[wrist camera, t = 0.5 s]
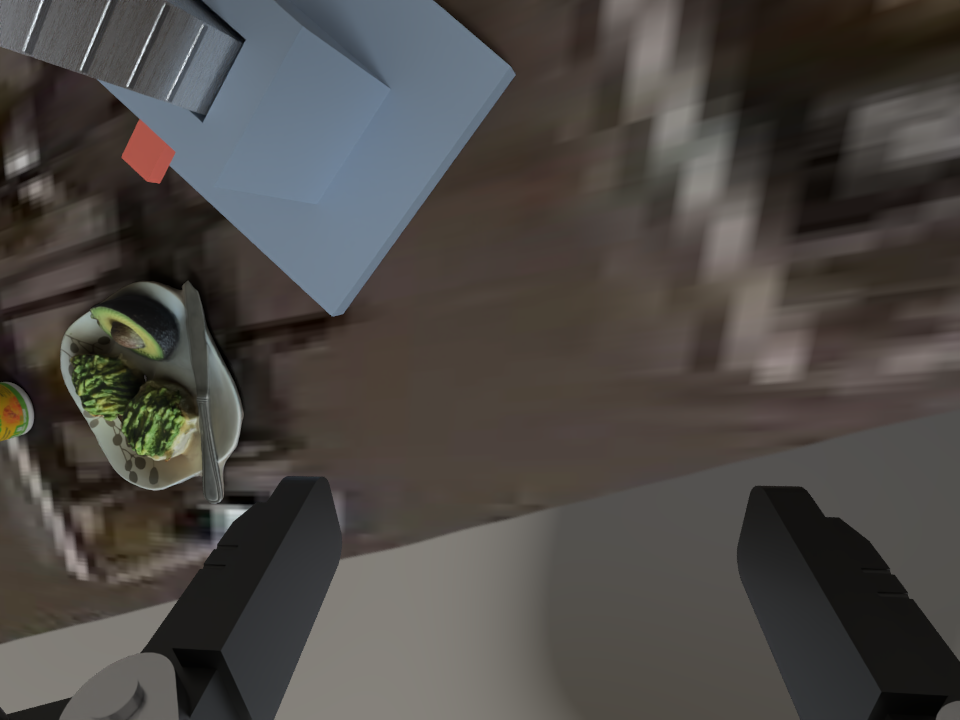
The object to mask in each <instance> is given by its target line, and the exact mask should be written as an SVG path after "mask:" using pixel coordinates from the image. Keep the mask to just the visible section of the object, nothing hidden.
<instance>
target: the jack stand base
mask: <svg viewBox="0 0 960 720" xmlns="http://www.w3.org/2000/svg"><path fill="white" fill-rule="evenodd" d="M199 1H200V2H202V3H204V4H205V5H207V6H209V7H210V8H211V9H212V10H213V11H214V12H216V13H217V14H218V15H219V16H220V17H221V18H222V19H223V20H225V21H226V22H227V23H228V24H229V25H230V26H231V27H232V28H234V29H235V30H236V31H237V32H238V33H239V34H240V35H241V36H242V37H244V38H245V39H246V41H245V43H244V44H243V46H242V48H241V50H240V52H239V54H238V56H237V58H236V60H235V62H234V64H233V66H232V68H231V69H230V71H229V73H228V75H227V77H226V79H225V81H224V83H223V85H222V87H221V89H220V91H219V92H218V94H217V96H216V98H215V100H214V102H213V104H212V106H211V108H210V110H209V112H208V114H207V116H206V115H203V114H200V113H197V112H194V111H191V110H188V109H185V108H182V107H179V106H176V105H173V104H170V103H167V102H164V101H161V100H158V99H155V98H152V97H149V96H146V95H143V94H140V93H137V92H134V91H131V90H128V89H125V88H122V87H119V86H116V85H113V84H110V83H107V82H105V81H102V80H99V79H97V80H98V81H99V82H100V83H101V84H103V85H104V86H105V87H106V88H107V89H108V90H109V91H110V92H111V93H112V94H113V95H114V96H116V97H117V98H118V99H119V100H120V101H121V102H122V103H123V104H124V105H125V106H126V107H127V108H128V109H130V110H131V111H132V112H133V113H134V114H135V115H136V116H137V117H138V118H139V121H138V123H137V125H136V128H135V130H134V132H133V134H132V136H131V138H130V140H129V142H128V144H127V147H126V149H125V151H124V153H123V155H122V157H121V158H123V159H124V160H125V161H126V162H127V163H128V164H129V165H130V166H131V167H132V168H133V169H134V170H135V171H136V172H138V173H139V174H140V175H141V176H142V177H143V178H144V179H145V180H146V181H147V182H154V183H160V182H161V180H162V178H163V176H164V174H165V172H166V170H167V169H168V167H169V165H170V166H171V167H172V168H173V169H174V170H175V171H176V172H177V173H178V174H179V175H180V176H181V177H183V178H184V179H185V180H186V181H187V182H188V183H189V184H190V185H191V186H192V187H193V188H194V189H195V190H197V191H198V192H199V193H200V194H201V195H202V196H203V197H204V198H205V199H206V200H207V201H208V202H209V203H211V204H212V205H213V206H214V207H215V208H216V209H217V210H218V211H219V212H220V213H221V214H222V215H223V216H225V217H226V218H227V219H228V220H229V221H230V222H231V223H232V224H233V225H234V226H235V227H236V228H237V229H239V230H240V231H241V232H242V233H243V234H244V235H245V236H246V237H247V238H248V239H249V240H250V241H251V242H253V243H254V244H255V245H256V246H257V247H258V248H259V249H260V250H261V251H262V252H263V253H264V254H265V255H267V256H268V257H269V258H270V259H271V260H272V261H273V262H274V263H275V264H276V265H277V266H278V267H279V268H281V269H282V270H283V271H284V272H285V273H286V274H287V275H288V276H289V277H290V278H291V279H292V280H293V281H295V282H296V283H297V284H298V285H299V286H300V287H301V288H302V289H303V290H304V291H305V292H306V293H307V294H309V295H310V296H311V297H312V298H313V299H314V300H315V301H316V302H317V303H318V304H319V305H320V306H321V307H323V308H324V309H325V310H326V311H327V312H328V313H329V314H330V315H331V316H337V315H341V314H343V313H344V312H345V311H346V309H347V308H348V306H349V305H350V304H351V302H352V301H353V300H354V298H355V297H356V295H357V294H358V293H359V291H360V290H361V288H362V287H363V286H364V284H365V283H366V282H367V280H368V279H369V277H370V276H371V275H372V273H373V272H374V270H375V269H376V268H377V266H378V265H379V264H380V262H381V261H382V259H383V258H384V257H385V255H386V254H387V252H388V251H389V250H390V248H391V247H392V246H393V244H394V243H395V241H396V240H397V239H398V237H399V236H400V234H401V233H402V232H403V230H404V229H405V228H406V226H407V225H408V223H409V222H410V221H411V219H412V218H413V216H414V215H415V214H416V212H417V211H418V209H419V208H420V207H421V205H422V204H423V203H424V201H425V200H426V198H427V197H428V196H429V194H430V193H431V191H432V190H433V189H434V187H435V186H436V185H437V183H438V182H439V180H440V179H441V178H442V176H443V175H444V173H445V172H446V171H447V169H448V168H449V167H450V165H451V164H452V162H453V161H454V160H455V158H456V157H457V155H458V154H459V153H460V151H461V150H462V149H463V147H464V146H465V144H466V143H467V142H468V140H469V139H470V137H471V136H472V135H473V133H474V132H475V131H476V129H477V128H478V126H479V125H480V124H481V122H482V121H483V119H484V118H485V117H486V115H487V114H488V113H489V111H490V110H491V108H492V107H493V106H494V104H495V103H496V101H497V100H498V99H499V97H500V96H501V94H502V93H503V92H504V90H505V89H506V88H507V86H508V85H509V83H510V82H511V81H512V79H513V78H514V76H515V73H514V71H513V69H512V68H511V66H510V65H508V64H507V63H506V62H505V61H504V60H503V59H501V58H500V57H499V56H498V55H497V54H496V53H494V52H493V51H492V50H491V49H490V48H489V47H487V46H486V45H485V44H484V43H483V42H481V41H480V40H479V39H478V38H477V37H476V36H474V35H473V34H472V33H471V32H470V31H469V30H467V29H466V28H465V27H464V26H463V25H462V24H460V23H459V22H458V21H457V20H456V19H455V18H453V17H452V16H451V15H450V14H449V13H448V12H446V11H445V10H444V9H443V8H442V7H440V6H439V5H438V4H437V3H436V2H435V1H433V0H199Z"/></svg>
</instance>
